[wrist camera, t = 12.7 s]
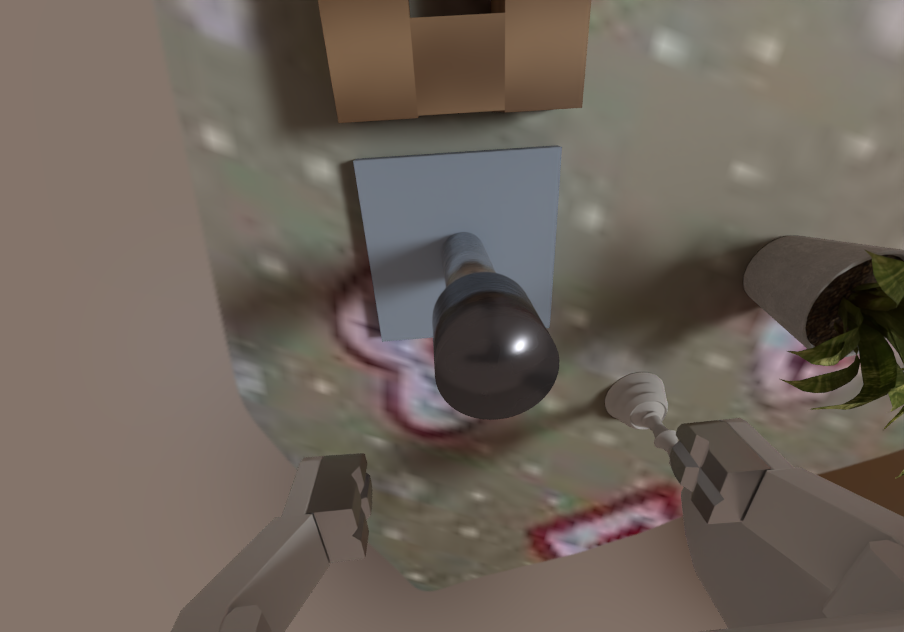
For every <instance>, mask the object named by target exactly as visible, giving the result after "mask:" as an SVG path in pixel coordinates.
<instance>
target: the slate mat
mask: <svg viewBox="0 0 904 632" xmlns="http://www.w3.org/2000/svg"><path fill="white" fill-rule="evenodd" d="M561 151H562V147H560V146H542V147H527V148H512V149H497V150H482V151H467V152H452V153H437V154H422V155H407V156H392V157H377V158H362V159H355V160H354V161H353V163H354V169H355V175H356V181H357V188H358V194H359V200H360V206H361V213H362V219H363V225H364V231H365V238H366V244H367V250H368V256H369V263H370V269H371V275H372V281H373V287H374V294H375V300H376V306H377V312H378V319H379V325H380V331H381V337H382V342H383V341H395V340H407V339H419V338H431V337H433V326H432V315H433V309H434V306H435V303H436V301H437V299H438V297H439V296H440V294H441V293H442V292H443V291H444V289H445V288H446V285H445V278H444V271H443V263H442V256H441V251H442V247H443V244H444V243H445V241H446V240H447V239H448V238H449V237H450V236H452V235H453V234H456V233H459V232H469V233H472V234H474V235H476V236H477V237H478V238H479V239H480V240H481V241H482V243H483V245H484V247H485V249H486V252H487V254H488V256H489V258H490V260H491V262H492V265H493V267H494V269H495V271H496V273H498V274H502V275H504V276H507V277H509V278H511V279H512V280H514V281H515V282H517V283H518V284H519V285H520V286H521V287H522V288H523V290H524V291H525V292H526V294H527V296H528V298H529V299H530V301H531V303H532V305H533V306H534V308H535V310H536V312H537V313H538V315H539V317H540V319H541V320H542V322H543V324H544V326H545V327H546V328H550V315H551V300H552V285H553V270H554V256H555V241H556V226H557V211H558V196H559V181H560V166H561Z"/></svg>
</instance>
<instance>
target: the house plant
mask: <svg viewBox="0 0 904 632" xmlns="http://www.w3.org/2000/svg"><path fill="white" fill-rule="evenodd" d="M743 285H744V289H745V292H746V293H747V295H748V296H749V297H750V298H751V299H752V300H753V301H754V302H756V303H757V304H758V305H759V306H760V307H761V308H762V309H763V310H765V311H766V312H767V313H768V314H769V315H770V316H771V317H772V318H774V319H775V320H776V321H777V322H778V323H779V324H780V325H781V326H783V327H784V328H785V329H786V330H787V331H788V332H789V333H790V334H791V335H793V336H794V337H795V338H796V339H797V340H798V341H799V342H800V343H802V344H803V345H804V346H805V347H806V348H807V349H806V350H803V351H799V352H795V351H788V352H791V353H794V354H796V355H799V356H800V357H802V358H804V359H805V360H807V361H808V362H810V363H811V364H815V365H823V366H831V365H835V364H837V363H838V362H839V361H840V360H842V359H843V358H844V357H848V356H852V355H856V357H855V361H854V363H852V364H851V365H850V366H849V367H848V368H845V369H842V370H839V371H835V372H831V373H827V374H823V375H819V376H815V377H811V378H808V379H804V380H800V381H785V380H782V379H780V380H782V381H785V382H787V383H789V384H791V385H793V386H794V387H796V388H798V389H800V390H802V391H806V392H812V393H825V392H829V391H833V390H835V389H837V388H839V387H842V386H843V385H845V384H847V383H849V382H850V381H851V380H852V379H853V378H854V377H855V376H856V375H857V373H858V369H859V365H860V363H861V371H862V377H863V383H864V385H863V387H862V389H861V391H860V393H859V394H858V395H857V396H856V397H855V398H854V399H852V400H850V401H848V402H846V403H845V404H842V405H835V406H827V407H820V408H813V409H844V410H846V409H852V408H855V407H859V406H862V405H864V404H867V403H869V402H871V401H873V400H876V399H878V398H880V397H882V396H885V395H887V394H889V397H890V401H891V403H892V406H893V408H892V410H891V411H893V410H895V409H897V408H898V407H900V406H902V405H903V404H904V372H903V371H902V370H904V368H902V369H901V368H900V367H899V365H898V364H897V362H896V359H895V356H894V352H893V350H892V348H891V347H890V345H889V344H888V342H887V341H886V340H887V339H888V340H889V342H890V343H891V344H892V346H893V347H894V348H895V349H896V351H897V352H898V353H899V355H900V358H901V360H902V362H903V364H904V360H903V359H904V250H900V249H893V248H885V247H878V246H871V245H863V244H856V243H849V242H841V241H834V240H827V239H820V238H812V237H805V236H786V237H782V238H778V239H776V240H774V241H772V242H770V243H769V244H767V245H766V246H765V247H763V248H762V249H761V250H760V251H759V252H758V253H757V254H756V255H755V256H754V257H753V258H752V260H751V261H750V263H749V265H748V266H747V269H746V271H745V274H744V281H743ZM857 354H859V355H860V359H859V357H858V356H857ZM808 410H809V409H808ZM891 411H890V412H891ZM903 413H904V406H903V408H902V409H901V410H900V412H899V413H898V414H897V415H896V416H895V417H894V418H893V419H892V420H891V421H890V422H889V423H888V424H887V426H886V427H885V428H887V427H888V426H889V425H890V424H891V423H892V422H893V421H894V420H896V419H897V418H898V417H900V416H901V415H902V414H903ZM885 428H884V429H885ZM902 475H904V470H903V472H902V473H901V474H900V476H902ZM900 476H898V477H900ZM896 478H897V477H896Z"/></svg>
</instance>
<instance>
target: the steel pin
mask: <svg viewBox="0 0 904 632" xmlns="http://www.w3.org/2000/svg"><path fill="white" fill-rule="evenodd" d="M441 256H442V263H443V271H444V278H445V285H446V288H445V289H444V291H443V292H442V293H441V294H440V296H439V297H438V299H437V301H436V303H435V306H434V309H433V315H432V326H433V346H434V365H435V379H436V384H437V387H438V390H439V392H440V394H441V396H442V397H443V398H444V400H445V401H446V402H447V403H448V404H449V405H450V406H451V407H453V408H454V409H455V410H457V411H459V412H461V413H463V414H465V415H467V416H470V417H474V418H479V419H489V420H492V419H503V418H508V417H512V416H515V415H518V414H521V413H523V412H525V411H527V410H529V409H530V408H532V407H533V406H535V405H536V404H537V403H539V402H540V401H541V400H542V399H543V398H544V397H545V396H546V395H547V394H548V392H549V391H550V390H551V388H552V386H553V385H554V383H555V380H556V378H557V375H558V370H559V355H558V351H557V348H556V345H555V344H554V342H553V340H552V338H551V336H550V334H549V333H548V331H547V329H546V327H545V326H544V324H543V322H542V320H541V319H540V317H539V315H538V313H537V312H536V310H535V308H534V306H533V305H532V303H531V301H530V299H529V298H528V296H527V294H526V292H525V291H524V290H523V288H522V287H521V286H520V285H519V284H518V283H517V282H515V281H514V280H512V279H511V278H509V277H507V276H504V275H502V274H498V273H496V271H495V269H494V267H493V265H492V262H491V260H490V258H489V256H488V254H487V252H486V249H485V247H484V245H483V243H482V241H481V240H480V239H479V238H478V237H477V236H476V235H474V234H472V233H469V232H459V233H456V234H453V235H452V236H450V237H449V238H448V239H447V240H446V241H445V243H444V244H443V247H442V251H441Z"/></svg>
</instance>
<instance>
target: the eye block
mask: <svg viewBox="0 0 904 632" xmlns="http://www.w3.org/2000/svg"><path fill="white" fill-rule="evenodd" d="M318 5H319V11H320V16H321V22H322V28H323V34H324V40H325V46H326V52H327V58H328V64H329V70H330V76H331V81H332V87H333V93H334V99H335V105H336V111H337V117H338V123H347V122H363V121H379V120H394V119H410V118H418V117H419V116H421V115H436V114H452V113H468V112H484V111H492V112H504V113H505V112H521V111H536V110H552V109H568V108H582V102H583V90H584V79H585V67H586V55H587V43H588V32H589V20H590V8H591V0H491V14H473V15H455V16H437V17H418V18H410V9H409V0H318Z"/></svg>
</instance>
